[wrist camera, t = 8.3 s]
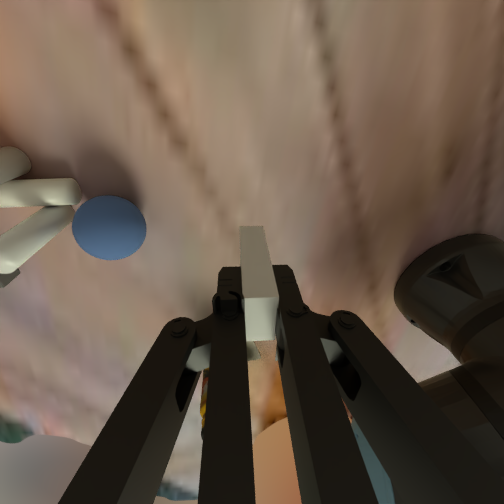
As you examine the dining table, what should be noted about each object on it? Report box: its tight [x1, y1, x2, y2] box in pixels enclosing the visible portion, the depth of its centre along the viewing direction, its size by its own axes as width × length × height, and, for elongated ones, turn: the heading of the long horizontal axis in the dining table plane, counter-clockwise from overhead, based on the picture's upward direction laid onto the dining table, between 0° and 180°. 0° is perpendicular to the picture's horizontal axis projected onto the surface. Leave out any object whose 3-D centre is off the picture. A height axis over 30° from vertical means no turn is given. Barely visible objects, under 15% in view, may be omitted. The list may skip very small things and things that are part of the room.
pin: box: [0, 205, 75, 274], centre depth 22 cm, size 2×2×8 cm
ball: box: [72, 195, 146, 260], centre depth 23 cm, size 6×6×6 cm
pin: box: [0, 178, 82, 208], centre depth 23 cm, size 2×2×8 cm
